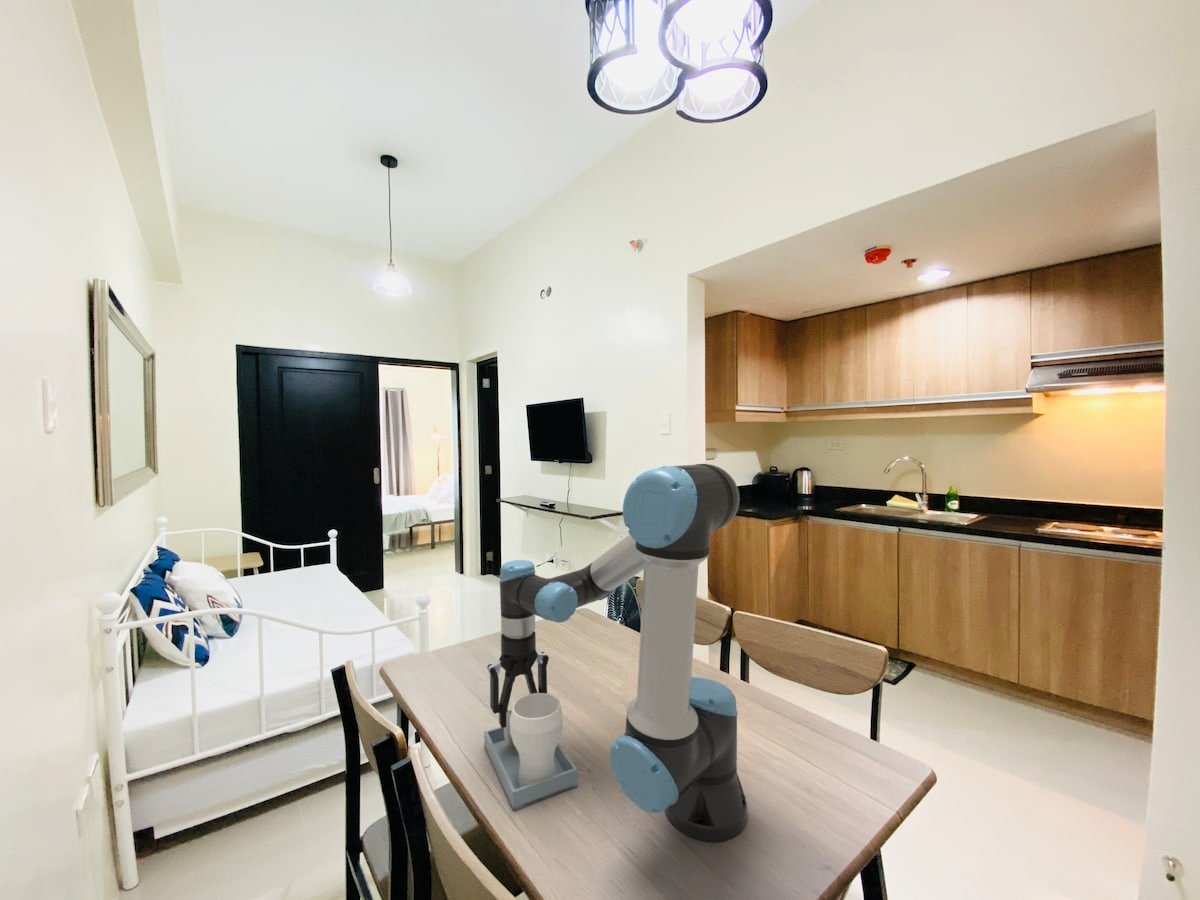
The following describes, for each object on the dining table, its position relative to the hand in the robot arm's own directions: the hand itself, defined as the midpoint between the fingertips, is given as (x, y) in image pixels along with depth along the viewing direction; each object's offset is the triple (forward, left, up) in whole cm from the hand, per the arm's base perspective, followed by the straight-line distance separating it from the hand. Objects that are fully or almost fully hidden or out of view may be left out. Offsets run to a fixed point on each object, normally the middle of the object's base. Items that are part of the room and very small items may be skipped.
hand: (519, 735), depth 106 cm
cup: (-11, 0, -3) cm, 11 cm away
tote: (-5, 0, -3) cm, 6 cm away
